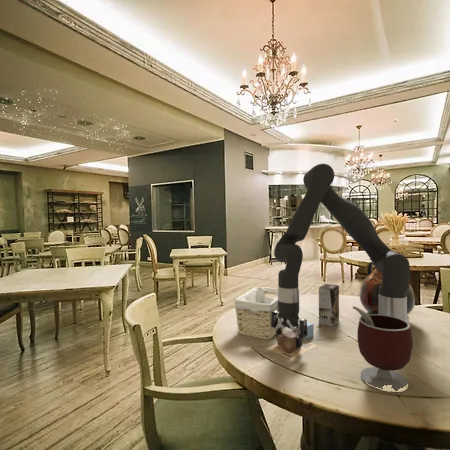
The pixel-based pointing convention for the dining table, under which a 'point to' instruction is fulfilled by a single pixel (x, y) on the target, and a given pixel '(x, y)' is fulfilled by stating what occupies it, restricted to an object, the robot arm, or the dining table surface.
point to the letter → (303, 349)
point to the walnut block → (287, 342)
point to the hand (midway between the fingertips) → (288, 343)
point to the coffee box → (328, 304)
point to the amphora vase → (371, 292)
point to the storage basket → (256, 312)
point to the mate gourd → (384, 348)
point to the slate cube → (309, 330)
